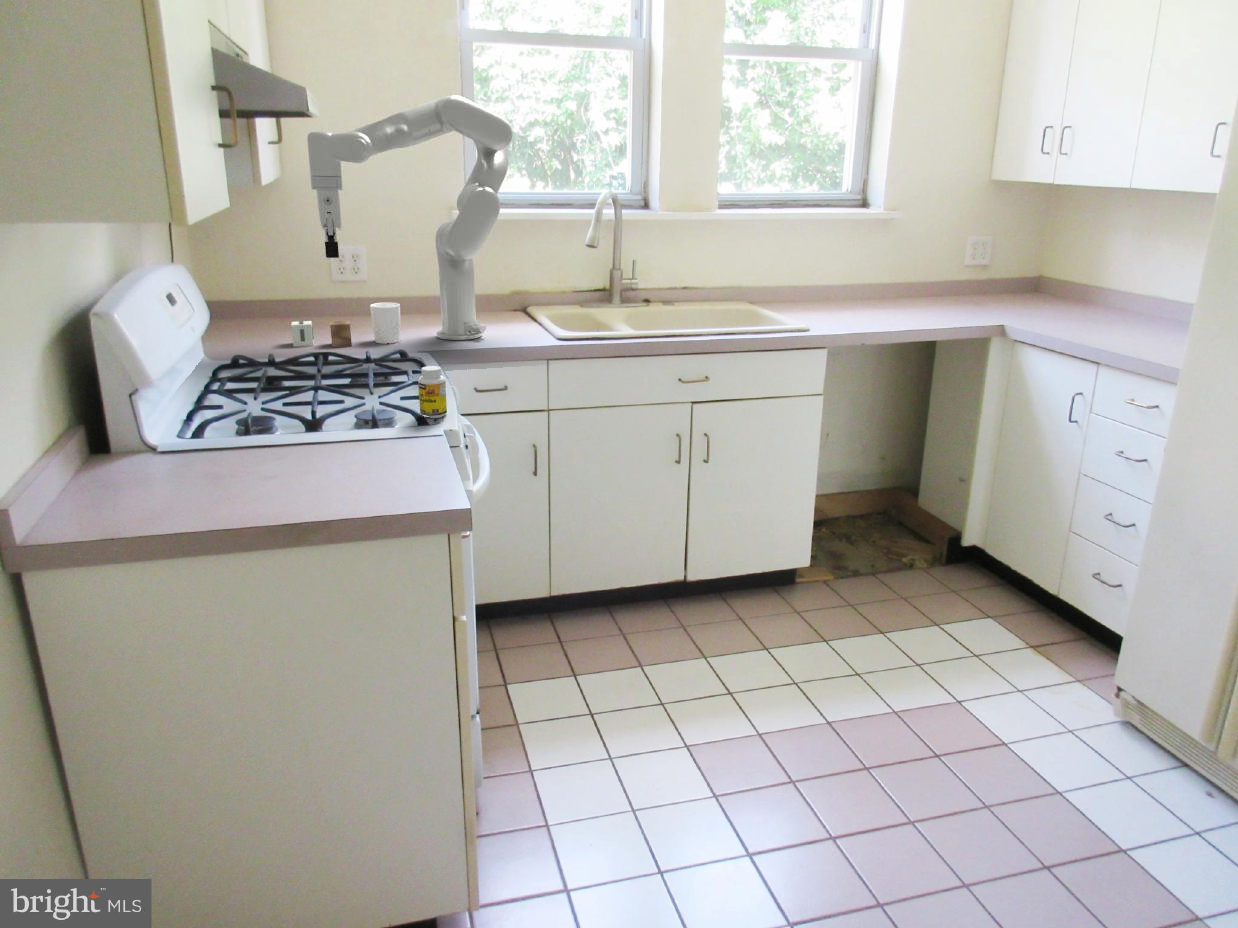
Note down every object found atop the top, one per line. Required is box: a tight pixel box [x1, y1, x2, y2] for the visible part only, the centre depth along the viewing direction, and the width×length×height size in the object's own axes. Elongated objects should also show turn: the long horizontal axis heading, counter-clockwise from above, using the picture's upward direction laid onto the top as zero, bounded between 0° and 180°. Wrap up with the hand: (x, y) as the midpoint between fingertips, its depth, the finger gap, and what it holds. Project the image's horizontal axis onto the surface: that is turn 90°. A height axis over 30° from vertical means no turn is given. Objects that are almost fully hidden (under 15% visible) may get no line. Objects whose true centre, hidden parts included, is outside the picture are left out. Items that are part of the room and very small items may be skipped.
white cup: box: [369, 301, 401, 345], centre depth 245 cm, size 8×8×10 cm
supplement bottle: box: [417, 365, 448, 419], centre depth 179 cm, size 5×5×10 cm
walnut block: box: [329, 320, 353, 348], centre depth 241 cm, size 5×5×6 cm
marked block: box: [290, 320, 314, 348], centre depth 241 cm, size 5×5×6 cm
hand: (332, 257), depth 234 cm, fingers closed
